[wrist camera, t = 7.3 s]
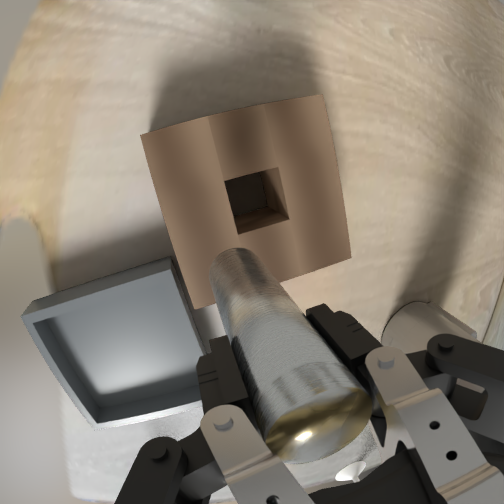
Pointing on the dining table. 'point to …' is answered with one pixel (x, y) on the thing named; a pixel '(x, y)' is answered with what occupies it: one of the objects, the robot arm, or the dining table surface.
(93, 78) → the dining table surface
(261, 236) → the block
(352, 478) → the champagne flute
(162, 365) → the tray
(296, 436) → the pin
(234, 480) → the robot arm
